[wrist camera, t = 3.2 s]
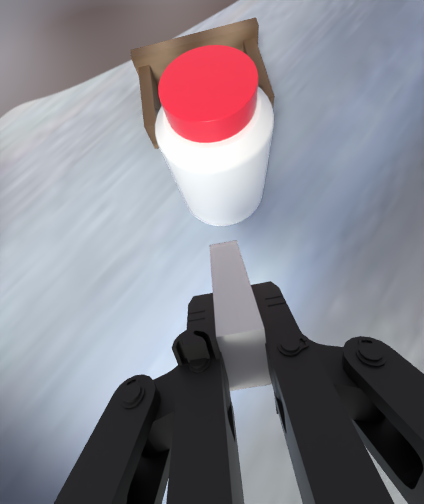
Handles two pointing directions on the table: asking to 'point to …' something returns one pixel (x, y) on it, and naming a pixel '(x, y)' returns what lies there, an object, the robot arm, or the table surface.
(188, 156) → the pill bottle
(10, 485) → the table surface
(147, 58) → the dock
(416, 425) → the robot arm
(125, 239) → the table surface
